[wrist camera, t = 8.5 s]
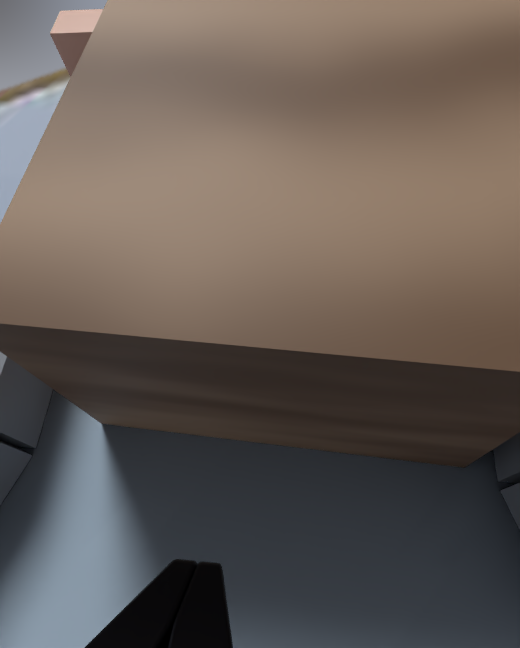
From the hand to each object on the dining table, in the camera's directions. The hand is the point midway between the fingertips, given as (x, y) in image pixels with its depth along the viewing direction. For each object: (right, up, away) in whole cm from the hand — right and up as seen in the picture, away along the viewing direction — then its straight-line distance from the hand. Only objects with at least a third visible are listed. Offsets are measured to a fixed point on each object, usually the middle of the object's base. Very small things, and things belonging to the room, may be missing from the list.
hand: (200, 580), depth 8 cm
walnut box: (+2, +7, +11) cm, 13 cm away
